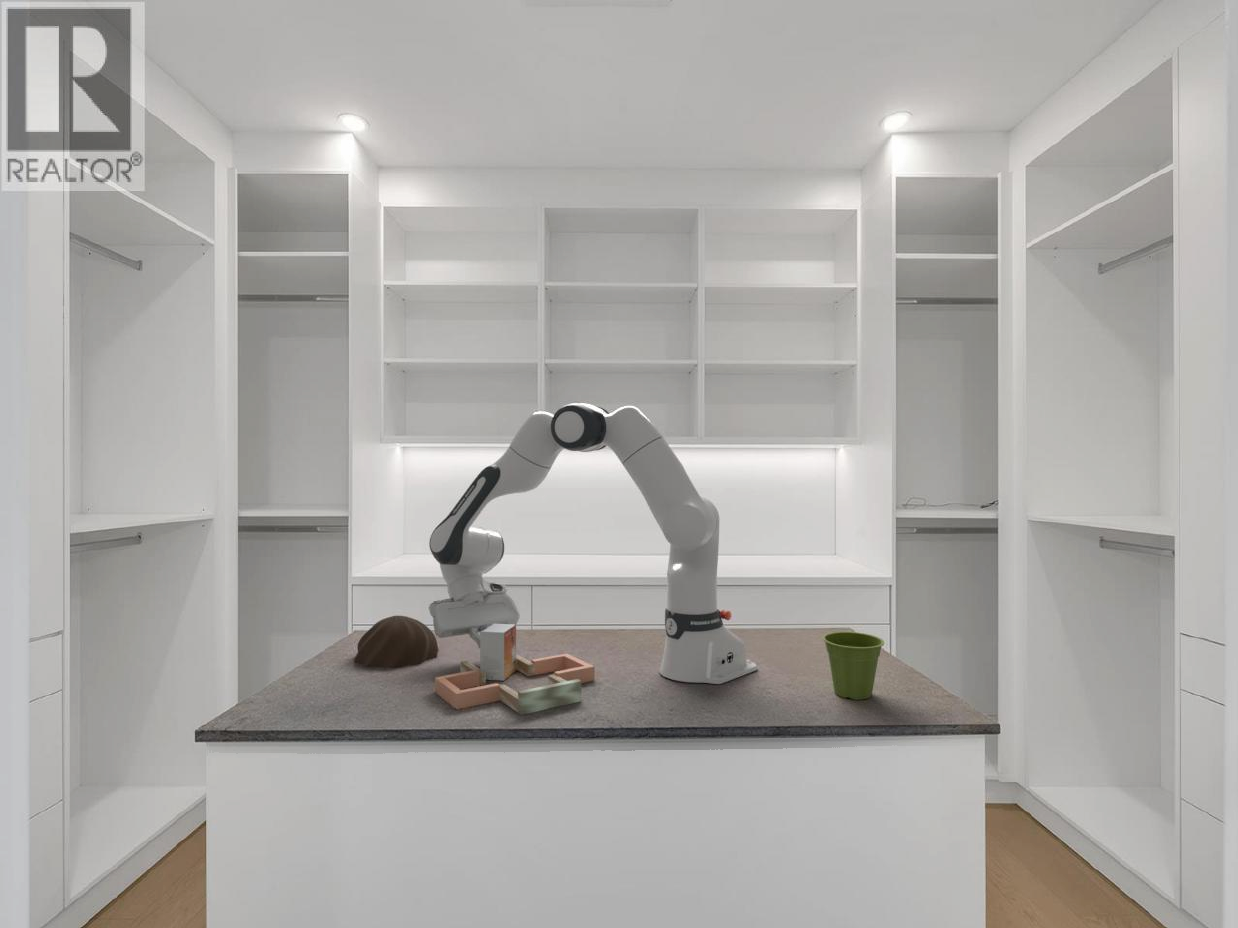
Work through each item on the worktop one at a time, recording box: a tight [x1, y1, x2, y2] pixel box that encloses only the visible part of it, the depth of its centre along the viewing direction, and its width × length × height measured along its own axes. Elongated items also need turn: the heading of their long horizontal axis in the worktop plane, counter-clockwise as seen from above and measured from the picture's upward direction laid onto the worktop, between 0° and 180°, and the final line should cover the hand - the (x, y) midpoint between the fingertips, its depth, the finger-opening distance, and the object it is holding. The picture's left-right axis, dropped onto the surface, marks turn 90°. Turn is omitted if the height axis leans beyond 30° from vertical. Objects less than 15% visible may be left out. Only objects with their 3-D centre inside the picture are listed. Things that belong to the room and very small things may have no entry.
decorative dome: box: [353, 615, 440, 669], centre depth 169 cm, size 19×20×10 cm
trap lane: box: [459, 653, 582, 716], centre depth 147 cm, size 13×30×4 cm, turn 34°
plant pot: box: [822, 631, 885, 701], centre depth 142 cm, size 12×12×11 cm
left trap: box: [434, 670, 501, 710], centre depth 141 cm, size 9×12×3 cm
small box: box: [479, 624, 517, 681], centre depth 154 cm, size 8×6×10 cm
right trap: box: [530, 653, 596, 684], centre depth 153 cm, size 9×12×3 cm
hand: (486, 646), depth 160 cm, fingers closed
